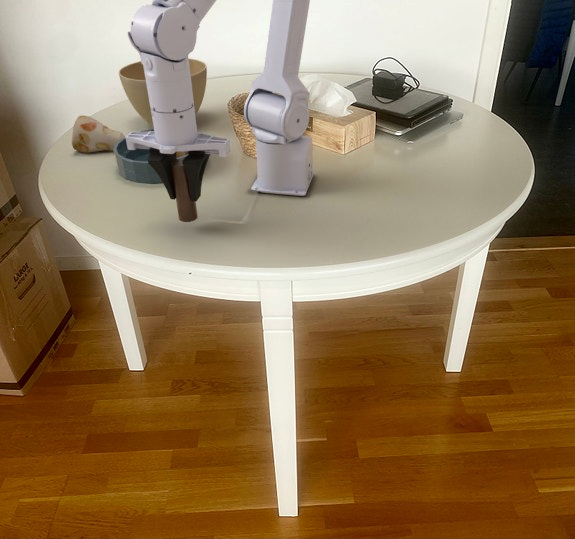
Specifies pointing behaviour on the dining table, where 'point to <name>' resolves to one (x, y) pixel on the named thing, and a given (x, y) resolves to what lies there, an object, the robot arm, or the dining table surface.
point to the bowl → (135, 163)
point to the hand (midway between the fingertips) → (185, 197)
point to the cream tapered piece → (93, 136)
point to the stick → (183, 192)
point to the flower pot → (138, 92)
